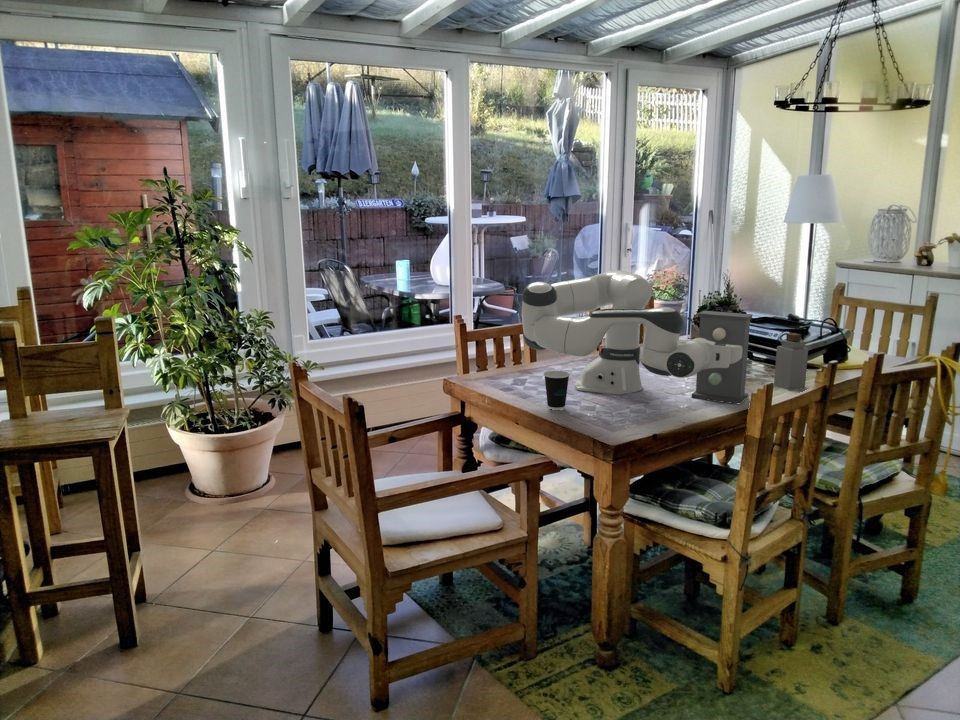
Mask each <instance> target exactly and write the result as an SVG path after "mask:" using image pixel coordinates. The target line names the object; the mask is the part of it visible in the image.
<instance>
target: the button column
mask: <svg viewBox="0 0 960 720" xmlns="http://www.w3.org/2000/svg"><path fill="white" fill-rule="evenodd" d="M697 316H698V317H699V331H698V338H704V339H706V340H709V341H712V342H715V343H720V344H728V345H739V346H742V358H741V359H740V360H739V361H737V362H735V363H733V364H730V365H729V367H728V368H710V369H703V370H701V371H700V372H698V373H697V374H696V382H695V391H694V392H692V393H691V398H692V397H694V398H693V399H699V398H701V400H706V399H709V400H708V401H713V400H716V401H715V402H719V401H723V402H722V403H726V402H731V403H730V404H733V403H741V402H742V401H743V400H744V399H745V398H746V399H747V398H748V397H749V392H746V380H747V379H746V378H747V366H748V352H749V350H748V349H749V339H750V338H749V337H750V325H751V319H752V318H753V314H752V313H739V312H738V313H737V312H726V311H715V310H714V311H712V310H702V311H701V312H698V314H697ZM717 328H723V329H725V331H726V336H725V338H723V339H722V340H716V339H714V337H713V331H714V330H715V329H717ZM713 373H719V374H720V375H721V376H722V381H721V382H720V383H719V384H718V385H712V384H710V382H709V380H708V379H709V376H710V375H711V374H713ZM746 399H745V400H746ZM745 400H744V401H745ZM744 401H743V402H744ZM743 402H742V403H743ZM742 403H741V404H742Z"/></svg>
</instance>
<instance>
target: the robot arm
mask: <svg viewBox="0 0 960 720" xmlns="http://www.w3.org/2000/svg"><path fill="white" fill-rule="evenodd" d="M651 286H652V285H651V284H650V283H649V282H648V280H646V279H645V278H644V277H643V276H641V275H639V274H636V273H632V272H628V271H624V270H621V269H620V270H619V269H616V270H615V269H613V270H609V271H607V272H602V273H598V274H595V275H592V276H588V277H582V278H576V279H570V280H564V281H558V282H556V283H555V282H554V283H551V284H550V283H548V282H545V281H533V282H531V283H529V284H528V285H527V286H526V287H524V289H523V292H522V295H521V296H522V297H521V300H522V304H521V318H522V319H521V320H522V329H523V333H522V336H523V341H524V343H525V345H526V346H528V347H529V349H532V350H535V351H545V350H548V351H552V352H554V353H558V354H563V355H565V356H566V355H568V356H572V357H586V356H588V355H591V354H592V353H593V352H595V350H597V348H598V357H596V358H595V359H593V360H592V361H591V362H589V363H588V364H587V365H585V366H584V368H583V370H582V373H581V378H579V379H577V380H576V381H575V382H574V388H575V390H577V391H583V392H592V393H599V394H600V393H601V394H608V395H609V394H610V395H611V394H612V395H625V394H628V393H636V392H640V391H641V390H643V384H642V380H641V374H640V363H641V365H642V366H643V367H644V368H645V369H646V370H647V371H648V372H649V373H652V374H654V375H658V376H664V377H670V376H672V377H675V378H679V379H685V378H690V377H692V376H696V375H697V373H698V372H700V371H701V370H703V369H710V368H728V367H729V365H730V364H733V363H735V362H737V361H739V360H740V359H741V358H742V346H739V345H728V344H720V343H715V342H712V341H709V340H706V339H704V338H699V337H696V338H695V337H694V338H693V339H690V340H689V339H680V336H681V335H680V334H681V333H682V329H683V325H684V322H685V321H684V319H683V317H682V315H681V314H680V312H679V311H678V310H677V309H675V308H672V307H668V306H667V307H666V306H661V307H654V308H653V307H652V308H645V307H646V306H647V304H648V303H649V302H650V300H651V298H652V294H653V291H652V287H651ZM611 305H612V308H608V309H600V308H602V307H603V308H604V307H607V306H611ZM598 309H599V310H598ZM589 312H591V313H590V314H589V315H588V316H585V317H581V318H577V317H571V316H572V315H578V314H583V313H589ZM569 316H570V317H569ZM641 325H643V326H644V328H645V329H644V334H643V340H642V345H641V346H640V336H641V333H640V332H641V331H640V329H641ZM604 337H605V345H604V344H602V341H603V339H604Z"/></svg>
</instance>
